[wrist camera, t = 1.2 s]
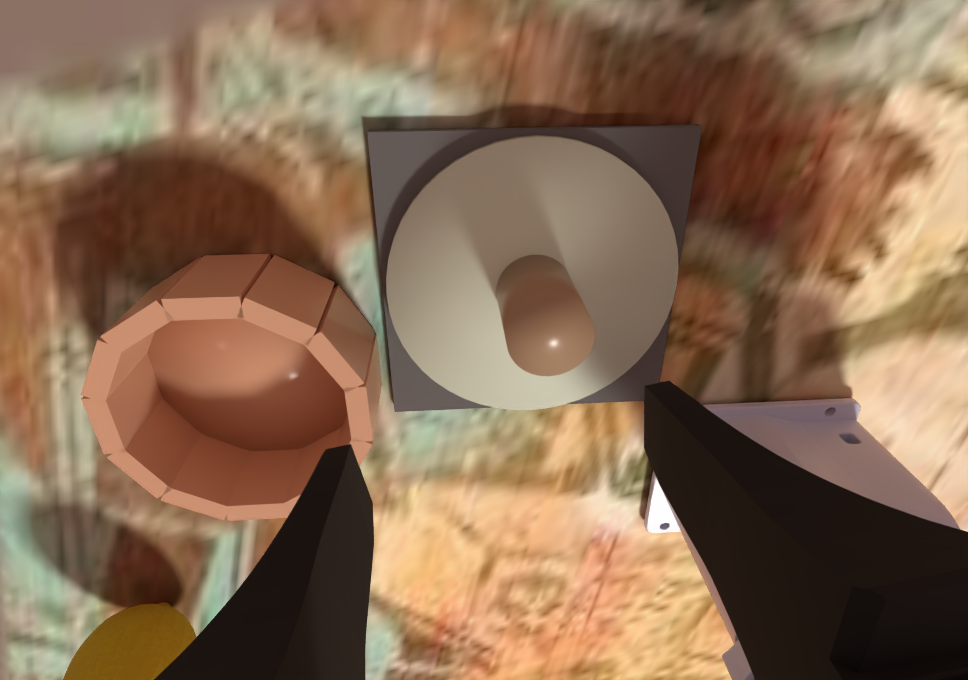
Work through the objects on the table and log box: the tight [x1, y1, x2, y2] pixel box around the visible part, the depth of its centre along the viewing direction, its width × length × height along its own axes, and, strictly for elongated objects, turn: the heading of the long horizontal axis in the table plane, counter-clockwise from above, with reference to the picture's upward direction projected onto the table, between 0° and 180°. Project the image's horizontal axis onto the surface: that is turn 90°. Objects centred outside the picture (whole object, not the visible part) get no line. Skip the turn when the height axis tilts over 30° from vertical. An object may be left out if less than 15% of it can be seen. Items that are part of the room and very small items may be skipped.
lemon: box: [63, 602, 196, 680], centre depth 28 cm, size 6×6×8 cm
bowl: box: [81, 254, 382, 521], centre depth 23 cm, size 10×10×4 cm
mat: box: [367, 124, 702, 412], centre depth 24 cm, size 12×12×1 cm
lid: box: [386, 135, 679, 410], centre depth 22 cm, size 12×12×5 cm
